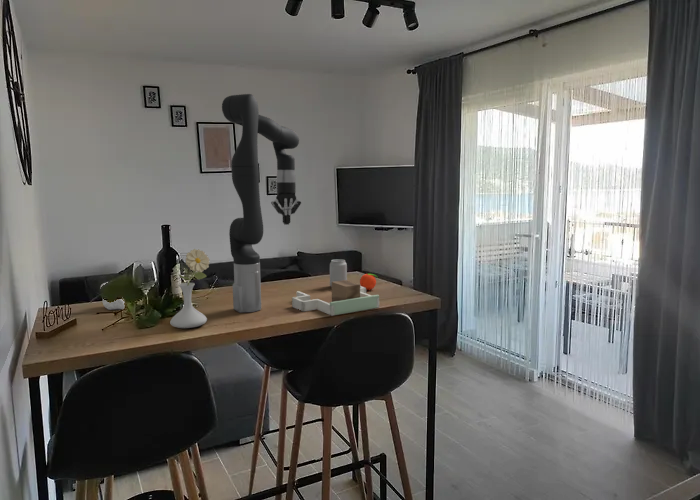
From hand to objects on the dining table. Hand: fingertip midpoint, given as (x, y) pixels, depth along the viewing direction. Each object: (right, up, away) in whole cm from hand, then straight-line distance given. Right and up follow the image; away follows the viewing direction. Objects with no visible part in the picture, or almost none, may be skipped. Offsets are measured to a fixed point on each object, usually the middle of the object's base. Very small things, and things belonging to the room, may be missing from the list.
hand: (286, 224), depth 205 cm
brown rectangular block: (+24, -32, -19) cm, 44 cm away
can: (+21, -27, +15) cm, 37 cm away
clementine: (+34, -28, +9) cm, 45 cm away
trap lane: (+21, -31, -15) cm, 40 cm away
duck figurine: (-61, -32, -20) cm, 72 cm away
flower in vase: (-25, -35, -42) cm, 60 cm away
